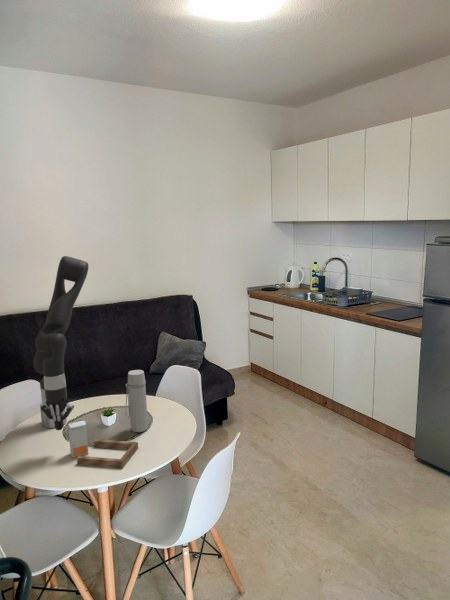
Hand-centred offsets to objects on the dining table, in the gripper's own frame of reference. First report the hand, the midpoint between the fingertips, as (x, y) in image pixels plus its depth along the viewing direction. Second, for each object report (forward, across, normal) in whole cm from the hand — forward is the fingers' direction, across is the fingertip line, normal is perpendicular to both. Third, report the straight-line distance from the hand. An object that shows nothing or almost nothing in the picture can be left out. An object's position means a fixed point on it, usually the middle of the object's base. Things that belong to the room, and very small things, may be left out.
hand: (59, 429), depth 161 cm
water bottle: (+10, +22, +22) cm, 32 cm away
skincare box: (+9, +8, 0) cm, 12 cm away
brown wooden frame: (+9, +19, 0) cm, 21 cm away
